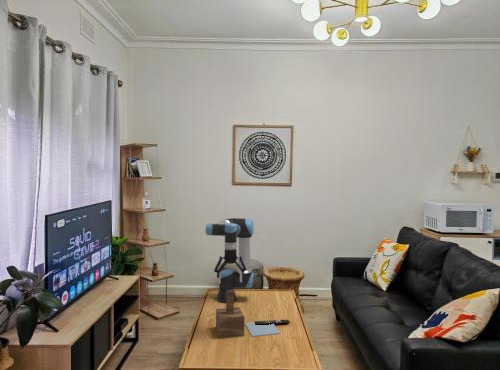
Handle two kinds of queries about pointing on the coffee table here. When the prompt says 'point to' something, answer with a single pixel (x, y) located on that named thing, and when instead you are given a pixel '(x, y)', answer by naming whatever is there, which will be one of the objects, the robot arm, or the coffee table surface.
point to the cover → (229, 318)
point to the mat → (261, 329)
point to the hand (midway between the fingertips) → (230, 282)
